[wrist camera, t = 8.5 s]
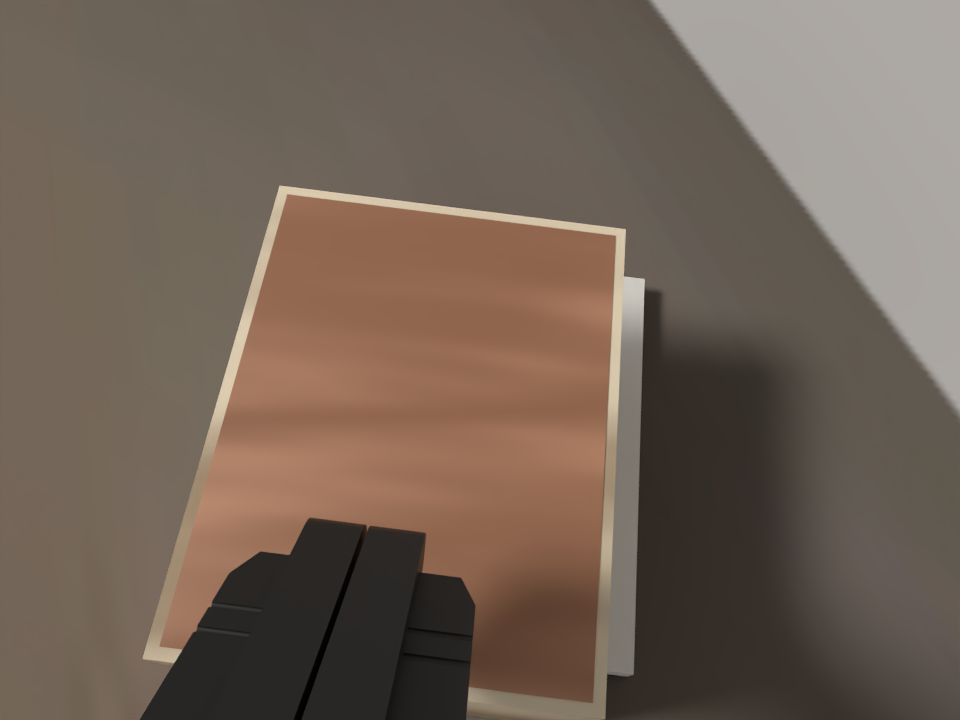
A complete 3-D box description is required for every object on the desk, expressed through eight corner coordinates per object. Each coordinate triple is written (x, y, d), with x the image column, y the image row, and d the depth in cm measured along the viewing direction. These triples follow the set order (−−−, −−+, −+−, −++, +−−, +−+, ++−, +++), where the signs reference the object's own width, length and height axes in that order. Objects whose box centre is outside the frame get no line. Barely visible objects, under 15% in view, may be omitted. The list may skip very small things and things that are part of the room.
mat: (627, 676, 17) (633, 674, 17) (177, 618, 17) (169, 614, 17) (639, 290, 22) (644, 279, 21) (280, 245, 22) (277, 232, 21)
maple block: (605, 719, 12) (625, 228, 16) (141, 659, 12) (279, 184, 16) (558, 727, 16) (583, 344, 20) (223, 683, 16) (313, 309, 20)
